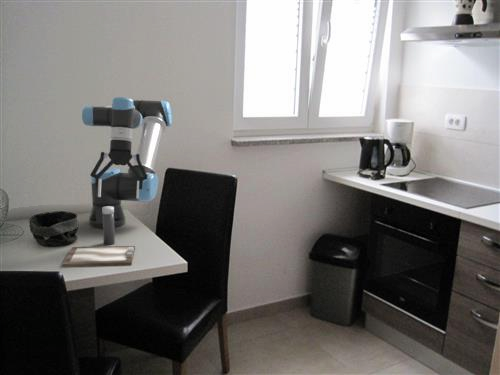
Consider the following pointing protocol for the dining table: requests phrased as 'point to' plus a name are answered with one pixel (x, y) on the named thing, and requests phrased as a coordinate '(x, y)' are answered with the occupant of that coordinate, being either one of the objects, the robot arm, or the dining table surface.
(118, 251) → the clipboard
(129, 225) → the dining table surface
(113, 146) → the robot arm
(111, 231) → the marker
